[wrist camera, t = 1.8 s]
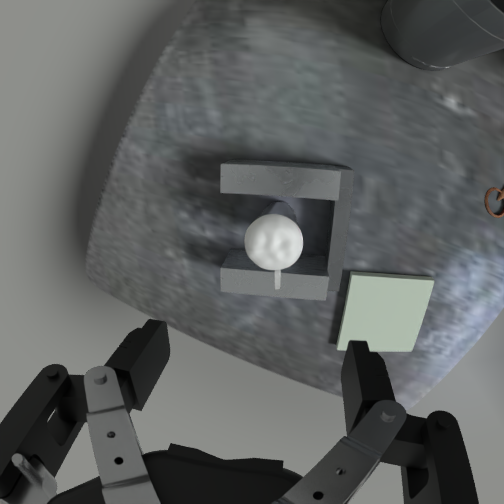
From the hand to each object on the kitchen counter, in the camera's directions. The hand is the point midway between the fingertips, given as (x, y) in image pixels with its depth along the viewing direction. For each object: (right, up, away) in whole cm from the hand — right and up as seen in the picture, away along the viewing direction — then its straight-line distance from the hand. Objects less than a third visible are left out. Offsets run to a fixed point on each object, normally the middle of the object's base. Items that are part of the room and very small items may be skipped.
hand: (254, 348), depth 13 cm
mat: (+15, -3, +21) cm, 26 cm away
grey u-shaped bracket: (+3, +7, +19) cm, 20 cm away
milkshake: (+3, +7, +19) cm, 21 cm away
